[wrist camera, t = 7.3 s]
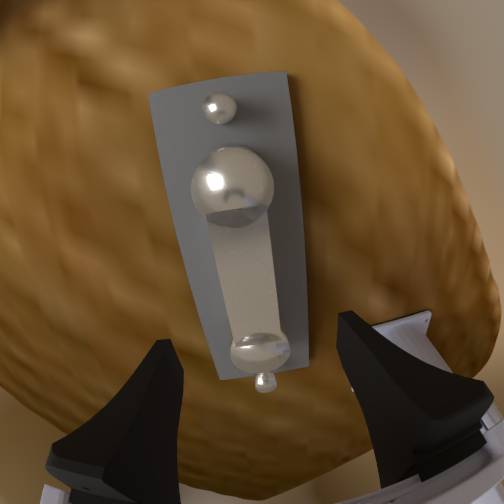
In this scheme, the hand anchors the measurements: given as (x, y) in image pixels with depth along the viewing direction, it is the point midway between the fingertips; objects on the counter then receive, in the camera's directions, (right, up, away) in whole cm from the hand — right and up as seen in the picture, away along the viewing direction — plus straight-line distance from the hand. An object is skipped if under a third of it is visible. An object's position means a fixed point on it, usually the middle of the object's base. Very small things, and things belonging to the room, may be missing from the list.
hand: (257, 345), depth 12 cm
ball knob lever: (-1, +3, +7) cm, 8 cm away
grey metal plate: (-1, +4, +8) cm, 9 cm away
